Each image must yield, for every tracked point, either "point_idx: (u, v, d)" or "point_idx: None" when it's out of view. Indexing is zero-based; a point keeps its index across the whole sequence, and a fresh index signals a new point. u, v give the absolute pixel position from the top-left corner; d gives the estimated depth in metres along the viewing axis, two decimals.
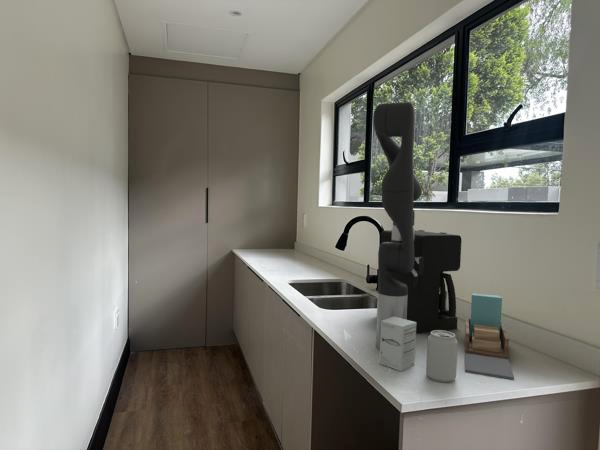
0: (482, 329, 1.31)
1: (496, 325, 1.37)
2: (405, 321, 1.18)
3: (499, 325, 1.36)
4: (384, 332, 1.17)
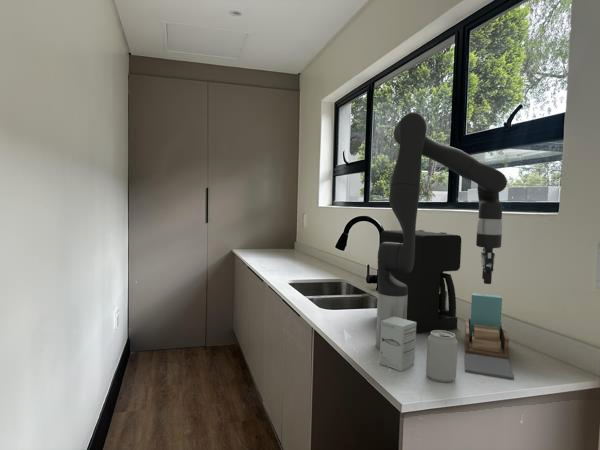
0: (482, 329, 1.31)
1: (496, 325, 1.37)
2: (405, 321, 1.18)
3: (499, 325, 1.36)
4: (384, 332, 1.17)
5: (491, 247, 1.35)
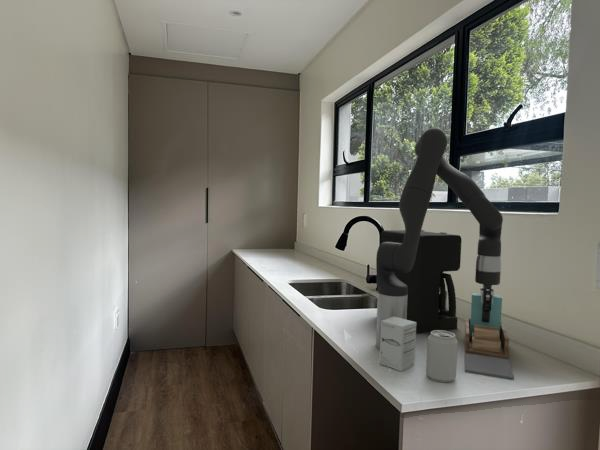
0: (482, 329, 1.31)
1: (496, 325, 1.37)
2: (405, 321, 1.18)
3: (499, 325, 1.36)
4: (384, 332, 1.17)
5: (490, 284, 1.35)
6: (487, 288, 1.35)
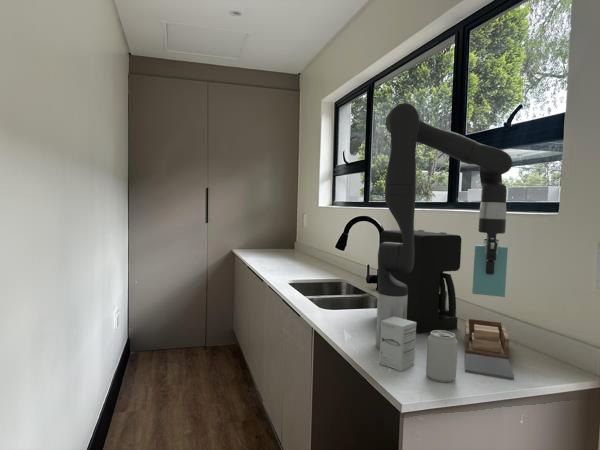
0: (482, 329, 1.31)
1: (501, 277, 1.27)
2: (405, 321, 1.18)
3: (504, 277, 1.27)
4: (384, 332, 1.17)
5: (494, 232, 1.26)
6: (492, 236, 1.26)
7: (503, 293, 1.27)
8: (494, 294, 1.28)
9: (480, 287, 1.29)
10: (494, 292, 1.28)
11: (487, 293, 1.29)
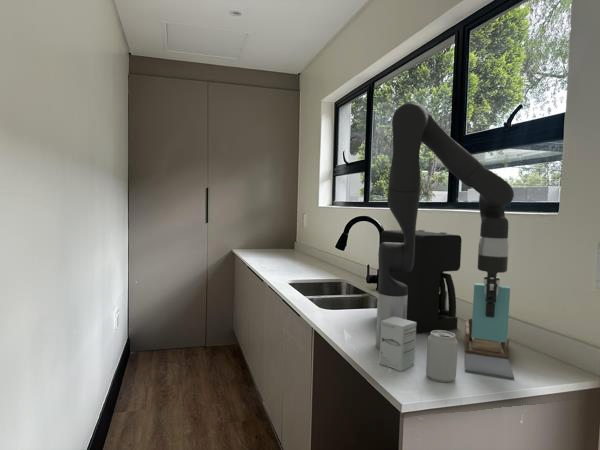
0: None
1: (503, 321, 1.15)
2: (405, 321, 1.18)
3: (506, 321, 1.14)
4: (384, 332, 1.17)
5: (495, 271, 1.13)
6: (491, 276, 1.14)
7: (505, 338, 1.15)
8: (495, 339, 1.16)
9: (479, 330, 1.17)
10: (495, 337, 1.16)
11: (487, 337, 1.16)
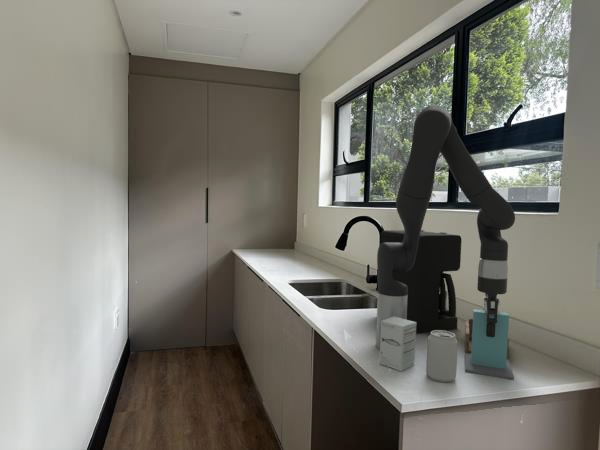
0: None
1: (502, 347, 1.16)
2: (405, 321, 1.18)
3: (505, 347, 1.16)
4: (384, 332, 1.17)
5: (495, 293, 1.15)
6: (492, 298, 1.15)
7: (504, 365, 1.16)
8: (494, 365, 1.17)
9: (479, 356, 1.19)
10: (495, 363, 1.17)
11: (487, 364, 1.18)
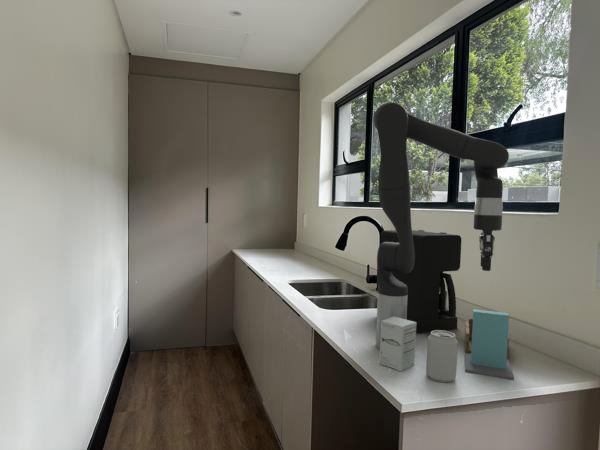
0: None
1: (502, 347, 1.16)
2: (405, 321, 1.18)
3: (505, 347, 1.16)
4: (384, 332, 1.17)
5: (490, 229, 1.20)
6: (487, 234, 1.20)
7: (504, 365, 1.16)
8: (494, 365, 1.17)
9: (479, 356, 1.19)
10: (495, 363, 1.17)
11: (487, 364, 1.18)
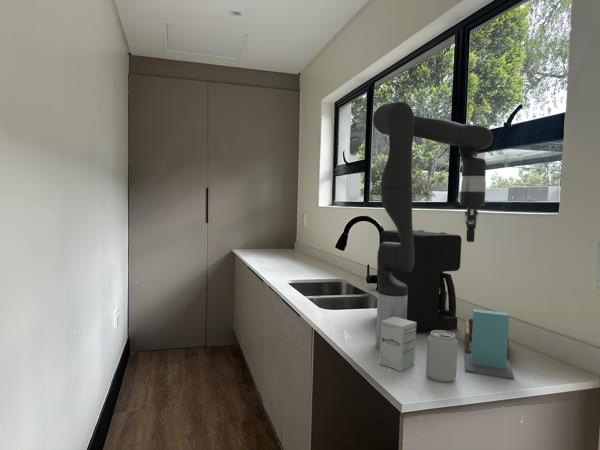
0: None
1: (502, 347, 1.16)
2: (405, 321, 1.18)
3: (505, 347, 1.16)
4: (384, 332, 1.17)
5: (474, 204, 1.32)
6: (471, 208, 1.33)
7: (504, 365, 1.16)
8: (494, 365, 1.17)
9: (479, 356, 1.19)
10: (495, 363, 1.17)
11: (487, 364, 1.18)
